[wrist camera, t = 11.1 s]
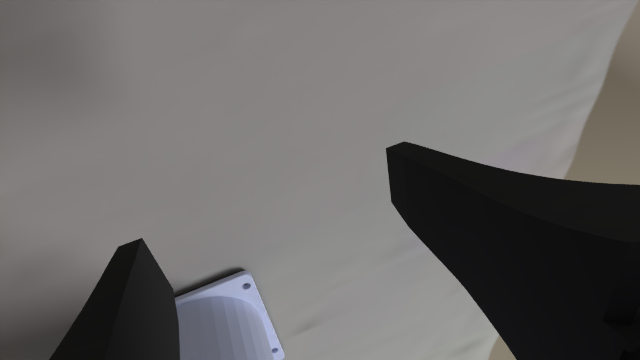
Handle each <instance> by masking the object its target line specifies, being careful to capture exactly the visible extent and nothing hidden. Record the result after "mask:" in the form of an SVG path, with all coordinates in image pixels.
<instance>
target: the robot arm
mask: <svg viewBox="0 0 640 360" xmlns="http://www.w3.org/2000/svg"><path fill="white" fill-rule="evenodd" d="M386 154H387V163H388V173H389V183H390V193H391V202H392V203H393V205H394V206H395V208H396V209H397V211H398V212H399V214H400V215H401V217H402V218H403V219H404V221H405V222H406V224H407V225H408V226H409V228H410V229H411V230H412V231H413V232H414V233H415V234H416V235H417V236H418V237H419V239H420V240H421V241H422V242H423V243H424V244H425V245H426V246H427V247H428V248H429V249H430V250H431V251H432V252H433V254H434V255H435V256H436V257H437V258H438V259H439V260H440V261H441V262H442V263H443V264H444V265H445V266H446V267H447V268H448V270H449V271H450V272H451V273H452V274H453V275H454V276H455V277H456V278H457V279H458V281H459V282H460V283H461V284H462V285H463V286H464V288H465V289H466V290H467V291H468V293H469V294H470V295H471V297H472V298H473V299H474V301H475V302H476V303H477V305H478V306H479V307H480V309H481V310H482V311H483V312H484V314H485V315H486V317H487V318H488V319H489V321H490V322H491V324H492V325H493V326H494V328H495V329H496V330H497V332H498V333H499V335H500V336H501V337H502V339H503V340H504V342H505V343H506V344H507V346H508V347H509V349H510V350H511V352H512V353H513V355H514V356H515V358H516V359H517V360H640V185H627V184H626V185H625V184H607V183H592V182H582V181H571V180H563V179H555V178H548V177H542V176H536V175H530V174H524V173H519V172H514V171H509V170H504V169H500V168H496V167H492V166H488V165H484V164H480V163H476V162H473V161H469V160H466V159H462V158H459V157H455V156H452V155H449V154H445V153H442V152H439V151H436V150H433V149H429V148H426V147H423V146H419V145H416V144H412V143H408V142H402V143H399V144H396V145H393V146H391V147H388V148H386ZM245 283H248V284H247V285H244V284H245ZM284 357H285V356H284V352H283V349H282V347H281V345H280V342H279V340H278V338H277V335H276V333H275V330H274V328H273V326H272V323H271V321H270V318H269V316H268V314H267V311H266V309H265V307H264V304H263V302H262V299H261V297H260V295H259V292H258V290H257V287H256V285H255V283H254V280H253V278H252V276H251V274H250V272H248V271H241V272H238V273H236V274H233V275H231V276H228V277H226V278H223V279H221V280H218V281H216V282H213V283H211V284H208V285H206V286H204V287H201V288H199V289H196V290H194V291H191V292H189V293H186V294H184V295H181V296H179V297H176V298H174V292H173V288H172V287H171V285H170V283H169V282H168V280H167V278H166V277H165V275H164V273H163V272H162V270H161V268H160V267H159V265H158V263H157V262H156V260H155V259H154V257H153V255H152V254H151V252H150V250H149V249H148V247H147V245H146V244H145V242H144V240H143V239H142V238H141V239H138V240H135V241H133V242H130V243H127V244H124V245H122V246H119V247H118V248H117V250H116V252H115V253H114V255H113V257H112V259H111V260H110V262H109V264H108V266H107V267H106V269H105V271H104V273H103V275H102V276H101V278H100V280H99V282H98V283H97V285H96V287H95V289H94V290H93V292H92V294H91V295H90V297H89V299H88V301H87V302H86V304H85V306H84V307H83V309H82V311H81V312H80V314H79V315H78V317H77V318H76V320H75V322H74V323H73V325H72V326H71V328H70V329H69V331H68V332H67V334H66V335H65V337H64V339H63V340H62V342H61V343H60V345H59V346H58V348H57V349H56V351H55V352H54V353H53V355H52V356H51V358H50V359H49V360H283V359H284Z"/></svg>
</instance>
